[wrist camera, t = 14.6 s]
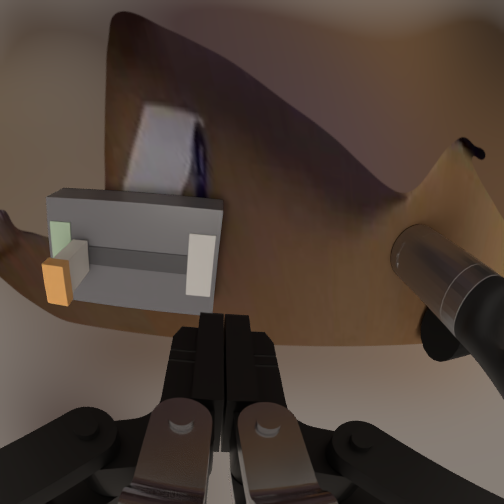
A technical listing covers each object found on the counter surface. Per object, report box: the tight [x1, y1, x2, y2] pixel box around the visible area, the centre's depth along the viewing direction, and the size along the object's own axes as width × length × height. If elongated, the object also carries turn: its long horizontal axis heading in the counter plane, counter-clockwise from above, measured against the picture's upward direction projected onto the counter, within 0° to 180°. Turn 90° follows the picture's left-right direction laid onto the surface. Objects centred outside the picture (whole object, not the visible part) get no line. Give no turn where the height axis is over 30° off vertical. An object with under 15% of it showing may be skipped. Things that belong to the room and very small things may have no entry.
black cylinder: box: [421, 309, 470, 362], centre depth 49 cm, size 10×34×10 cm, turn 82°
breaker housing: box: [46, 188, 223, 315], centre depth 39 cm, size 22×14×5 cm, turn 82°
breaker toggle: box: [42, 239, 89, 306], centre depth 32 cm, size 3×5×8 cm, turn 172°
